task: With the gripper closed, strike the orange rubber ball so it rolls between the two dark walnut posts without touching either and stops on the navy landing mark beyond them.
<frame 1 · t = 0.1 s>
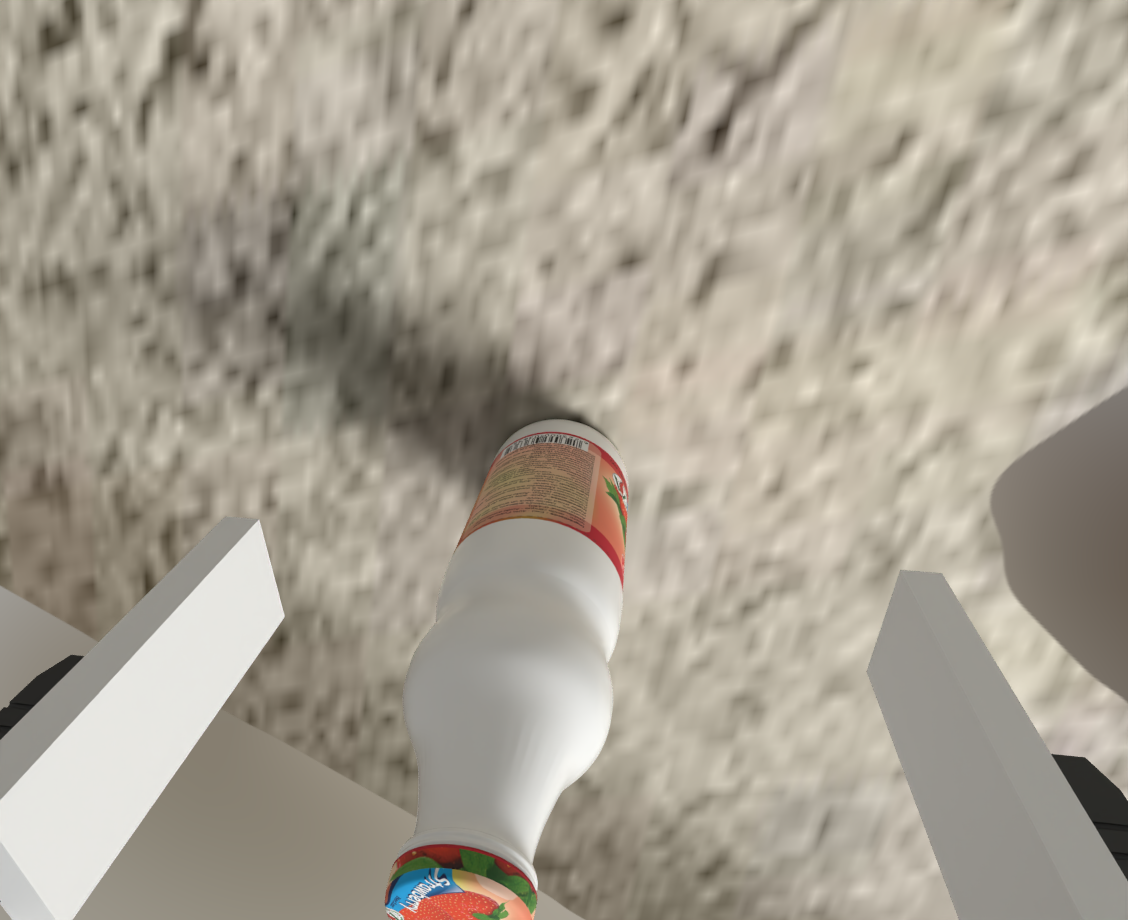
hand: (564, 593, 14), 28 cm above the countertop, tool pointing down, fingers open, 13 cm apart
fruit juice: (561, 474, 45), on the countertop
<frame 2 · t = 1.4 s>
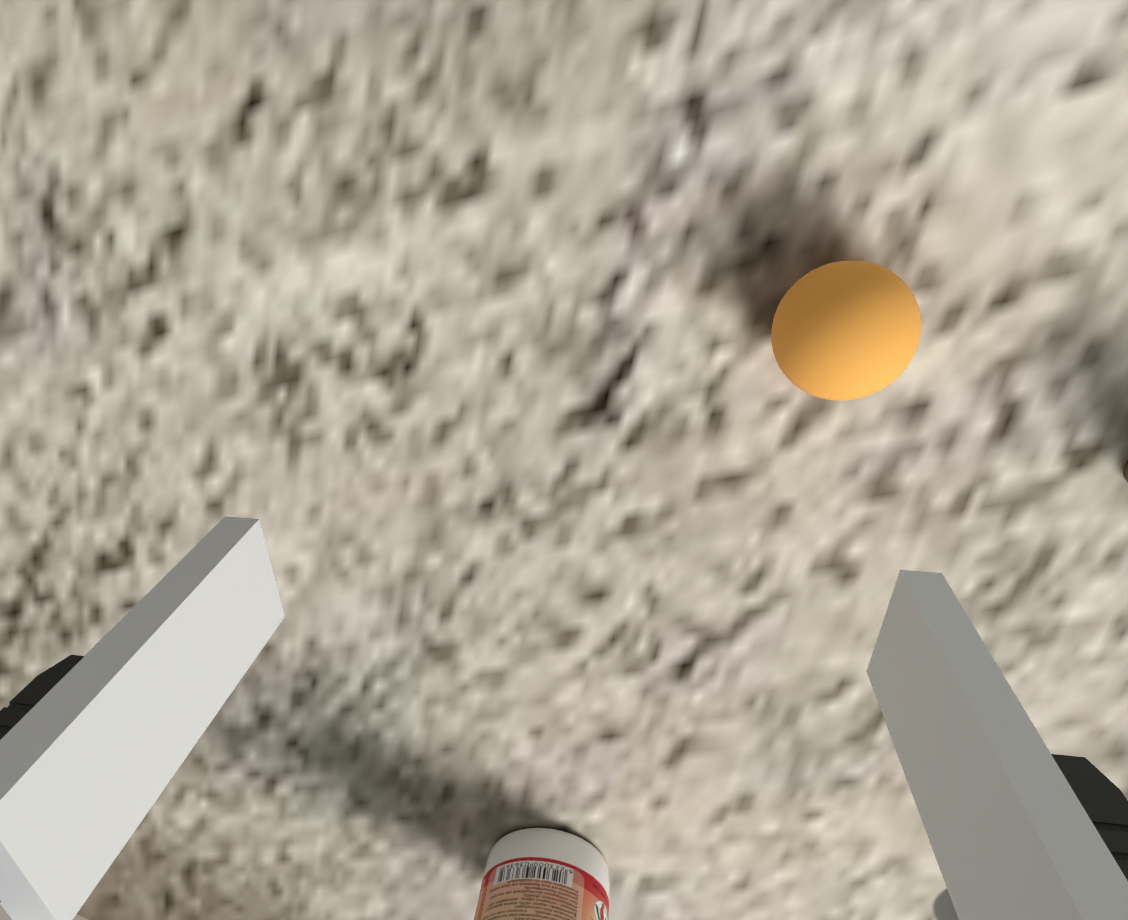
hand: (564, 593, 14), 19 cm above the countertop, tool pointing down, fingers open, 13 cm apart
ball: (843, 331, 26), on the countertop
fruit juice: (549, 859, 50), on the countertop
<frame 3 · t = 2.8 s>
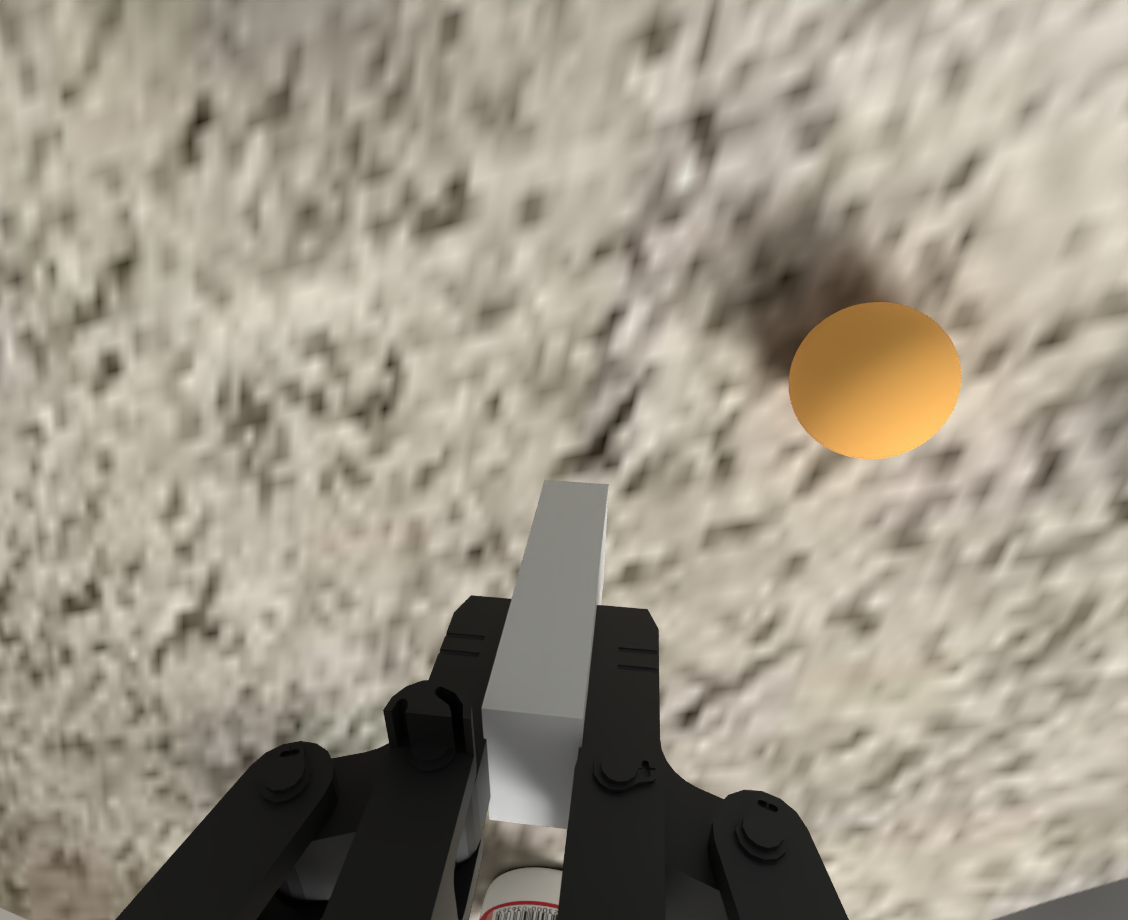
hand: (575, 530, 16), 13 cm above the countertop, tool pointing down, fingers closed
ball: (870, 381, 23), on the countertop
fruit juice: (548, 896, 48), on the countertop
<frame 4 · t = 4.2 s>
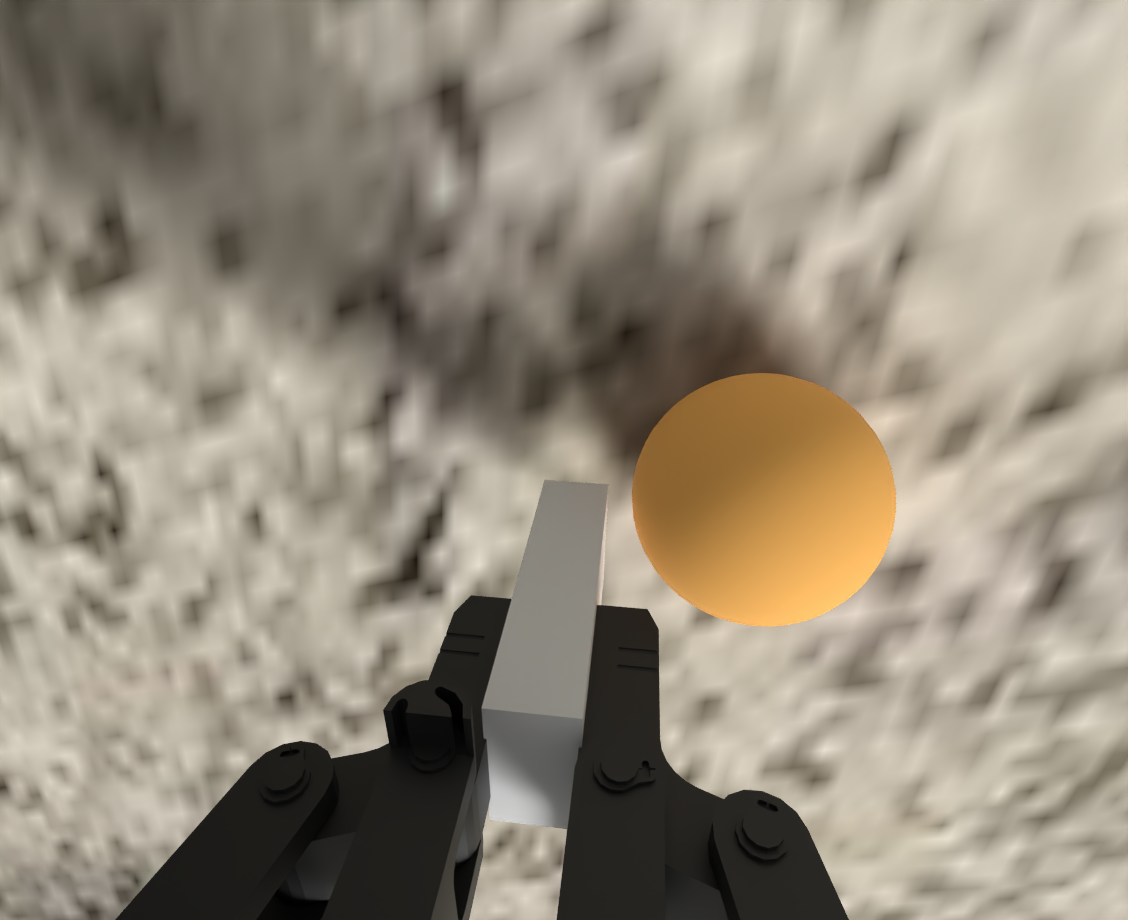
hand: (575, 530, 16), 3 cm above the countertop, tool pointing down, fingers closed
ball: (756, 498, 14), on the countertop
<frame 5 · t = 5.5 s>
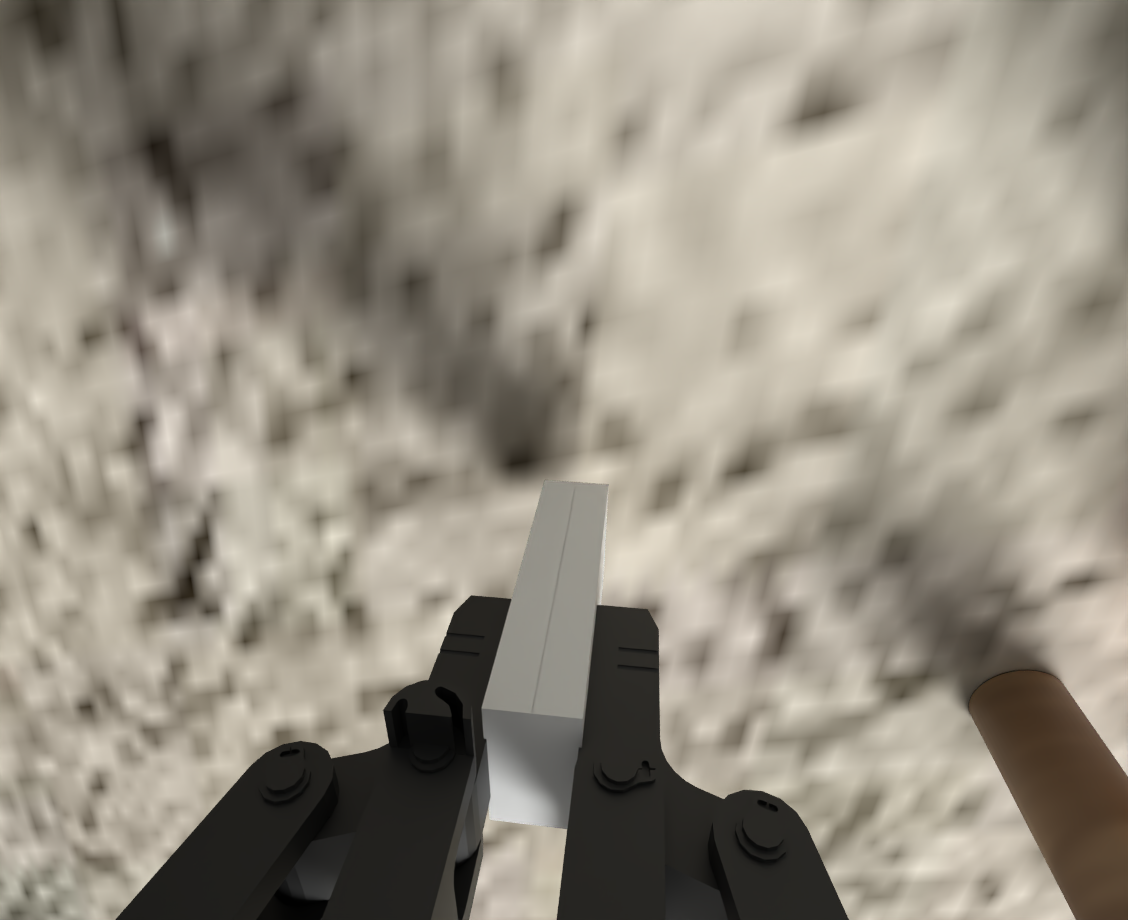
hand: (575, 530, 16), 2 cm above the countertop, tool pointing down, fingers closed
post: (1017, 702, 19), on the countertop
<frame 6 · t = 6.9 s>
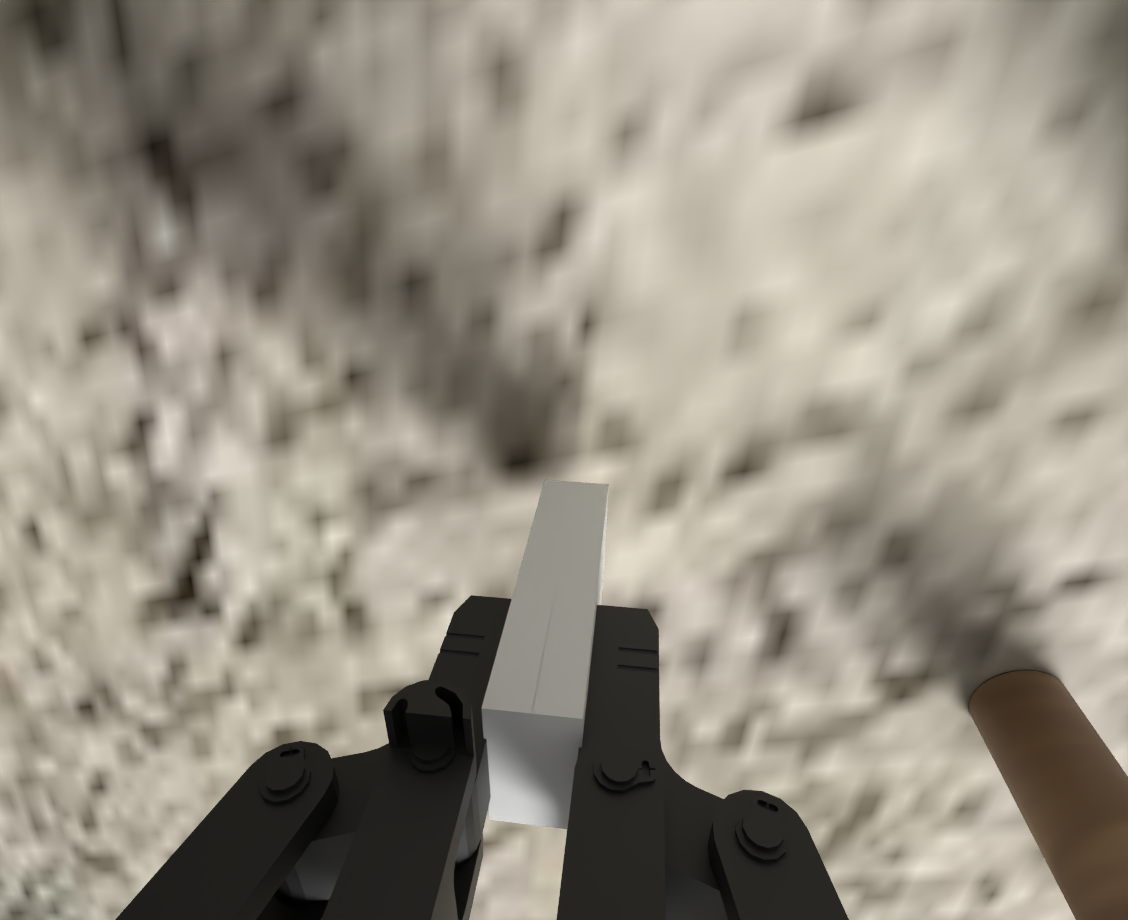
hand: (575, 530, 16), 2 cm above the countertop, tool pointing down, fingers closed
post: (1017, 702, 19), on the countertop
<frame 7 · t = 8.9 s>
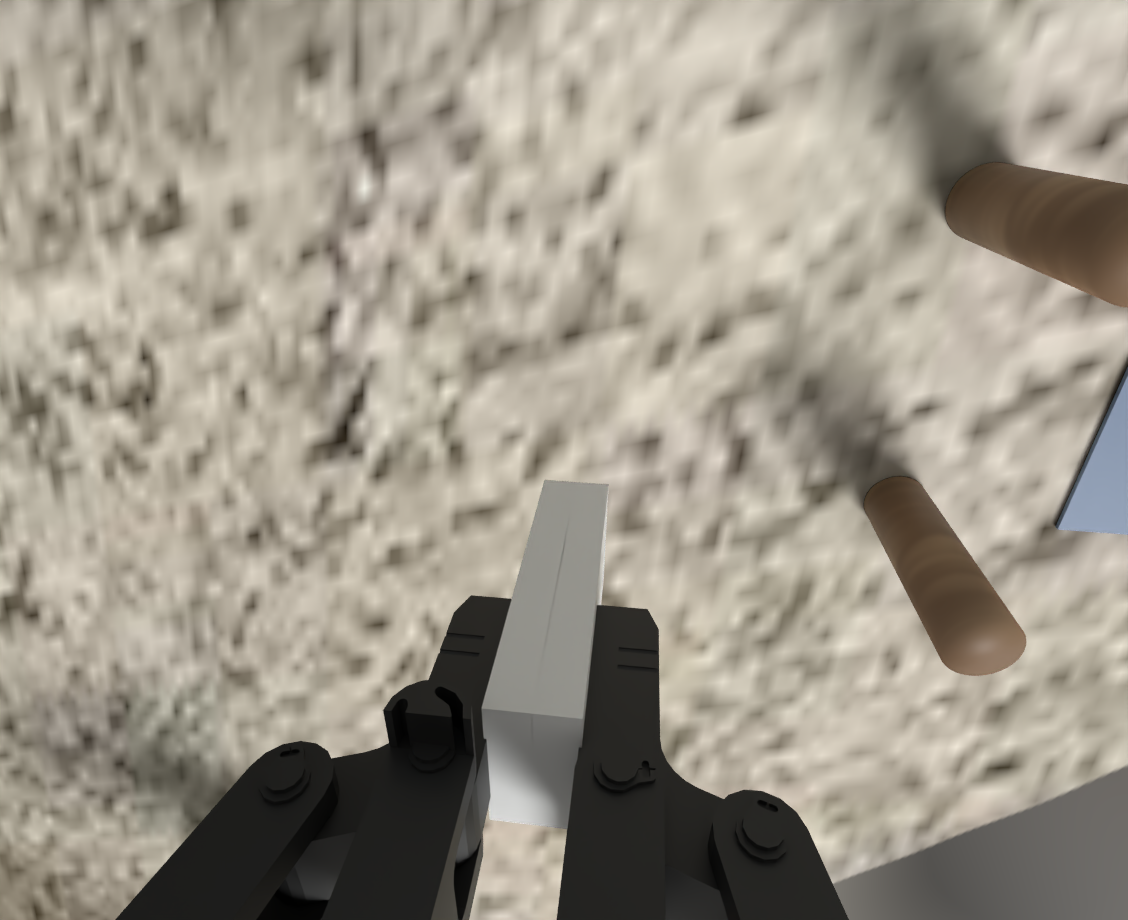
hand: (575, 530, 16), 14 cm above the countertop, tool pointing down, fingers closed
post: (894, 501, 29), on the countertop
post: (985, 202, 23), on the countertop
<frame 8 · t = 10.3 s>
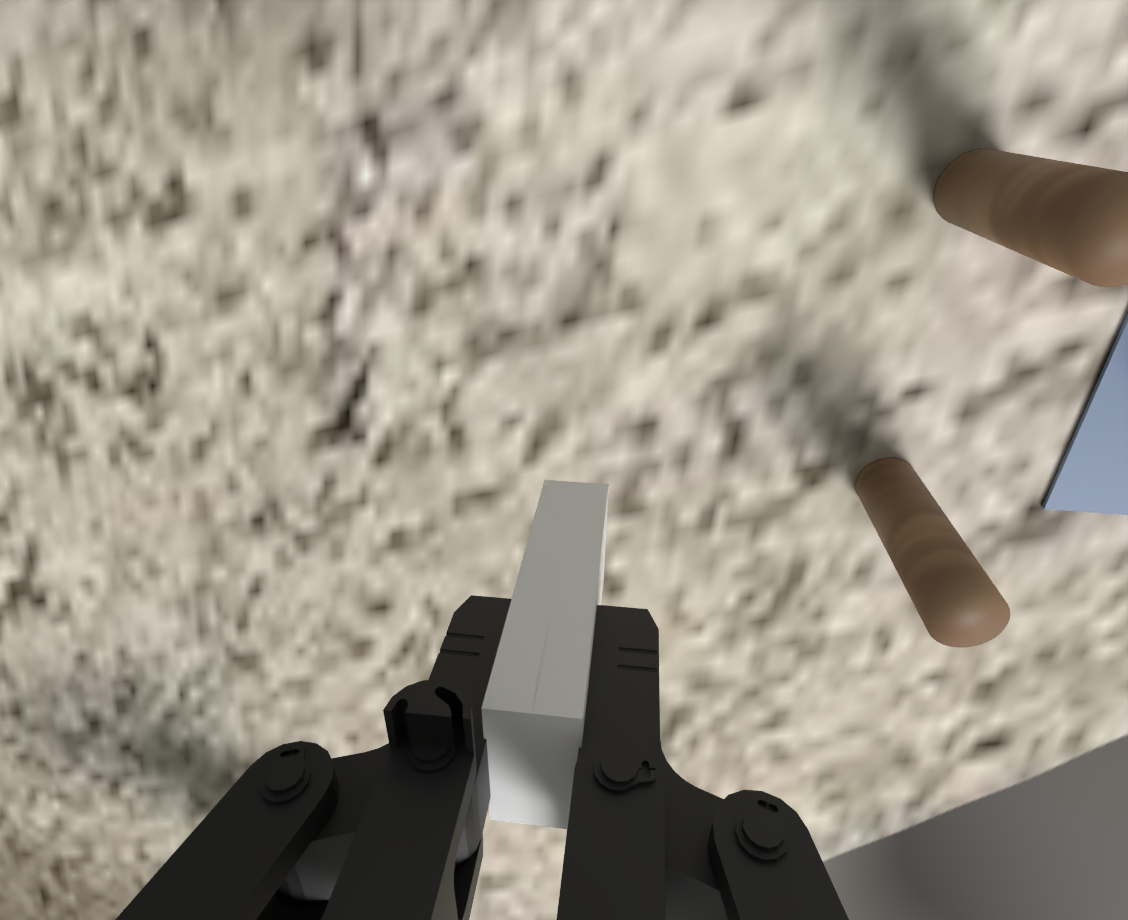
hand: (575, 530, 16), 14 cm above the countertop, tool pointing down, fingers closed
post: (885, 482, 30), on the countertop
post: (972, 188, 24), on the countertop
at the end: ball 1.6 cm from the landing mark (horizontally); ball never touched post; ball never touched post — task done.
